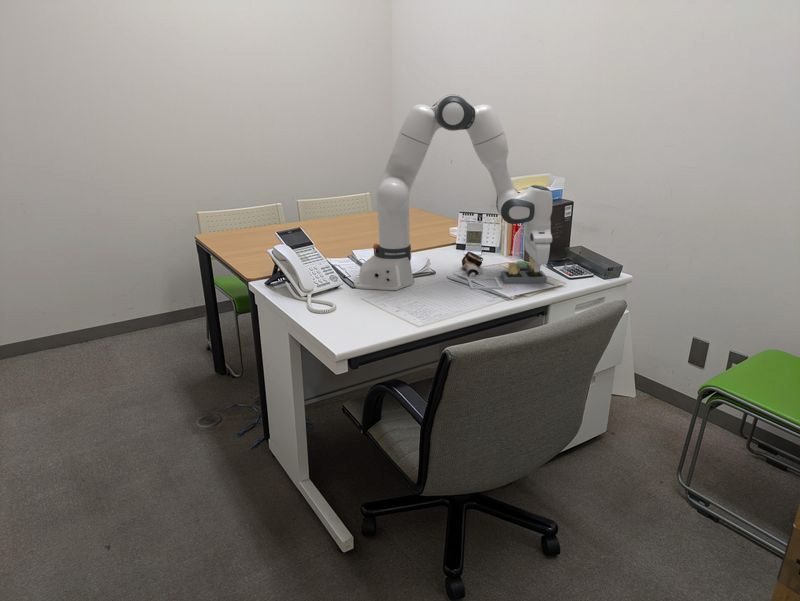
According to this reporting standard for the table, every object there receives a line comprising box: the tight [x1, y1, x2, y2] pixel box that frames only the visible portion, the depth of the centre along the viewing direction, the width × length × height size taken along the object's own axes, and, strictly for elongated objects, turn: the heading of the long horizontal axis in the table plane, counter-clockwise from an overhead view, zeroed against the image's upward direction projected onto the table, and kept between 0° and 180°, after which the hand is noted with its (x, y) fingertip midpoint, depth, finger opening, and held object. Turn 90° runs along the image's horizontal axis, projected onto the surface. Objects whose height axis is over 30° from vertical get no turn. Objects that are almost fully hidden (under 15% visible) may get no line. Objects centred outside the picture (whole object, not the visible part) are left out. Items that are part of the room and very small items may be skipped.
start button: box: [516, 260, 529, 268], centre depth 207 cm, size 4×4×4 cm
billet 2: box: [528, 257, 542, 276], centre depth 199 cm, size 4×4×6 cm
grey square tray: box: [466, 276, 503, 290], centre depth 197 cm, size 11×11×2 cm
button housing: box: [519, 262, 530, 271], centre depth 207 cm, size 7×7×4 cm
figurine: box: [461, 251, 484, 278], centre depth 208 cm, size 9×8×15 cm
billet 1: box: [507, 261, 520, 277], centre depth 199 cm, size 4×4×6 cm
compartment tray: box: [499, 270, 549, 285], centre depth 200 cm, size 16×9×3 cm, turn 90°
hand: (534, 269), depth 199 cm, fingers closed on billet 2, 4 cm apart
